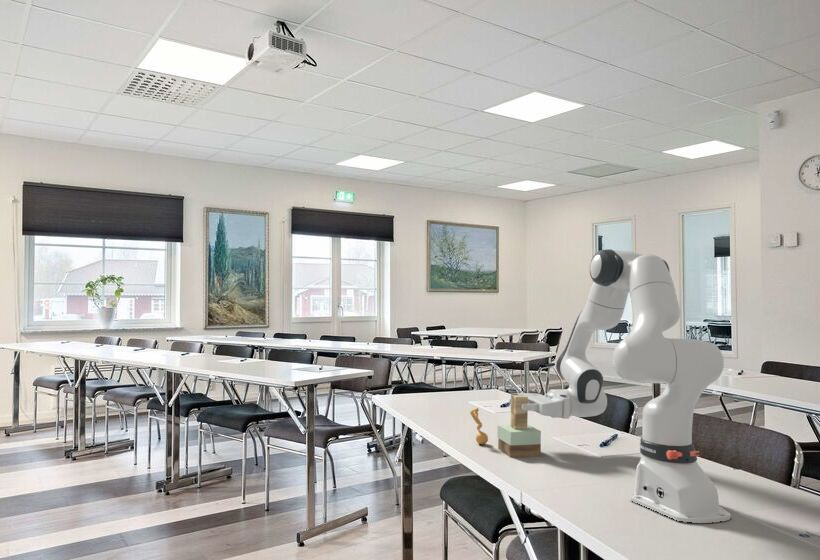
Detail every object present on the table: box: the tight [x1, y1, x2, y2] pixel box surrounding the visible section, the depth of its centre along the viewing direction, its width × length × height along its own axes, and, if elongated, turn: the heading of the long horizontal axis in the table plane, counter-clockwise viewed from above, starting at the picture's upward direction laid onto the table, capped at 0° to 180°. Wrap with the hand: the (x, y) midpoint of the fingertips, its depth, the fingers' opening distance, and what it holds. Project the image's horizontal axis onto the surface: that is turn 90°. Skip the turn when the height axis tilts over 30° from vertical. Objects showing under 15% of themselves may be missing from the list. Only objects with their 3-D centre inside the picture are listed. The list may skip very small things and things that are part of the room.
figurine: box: [469, 407, 489, 446], centre depth 195 cm, size 8×6×12 cm
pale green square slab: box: [496, 424, 542, 445], centre depth 186 cm, size 10×10×4 cm
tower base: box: [497, 438, 542, 458], centre depth 186 cm, size 10×10×4 cm
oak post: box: [510, 394, 529, 429], centre depth 186 cm, size 4×4×10 cm
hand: (515, 404), depth 186 cm, fingers open, 8 cm apart
